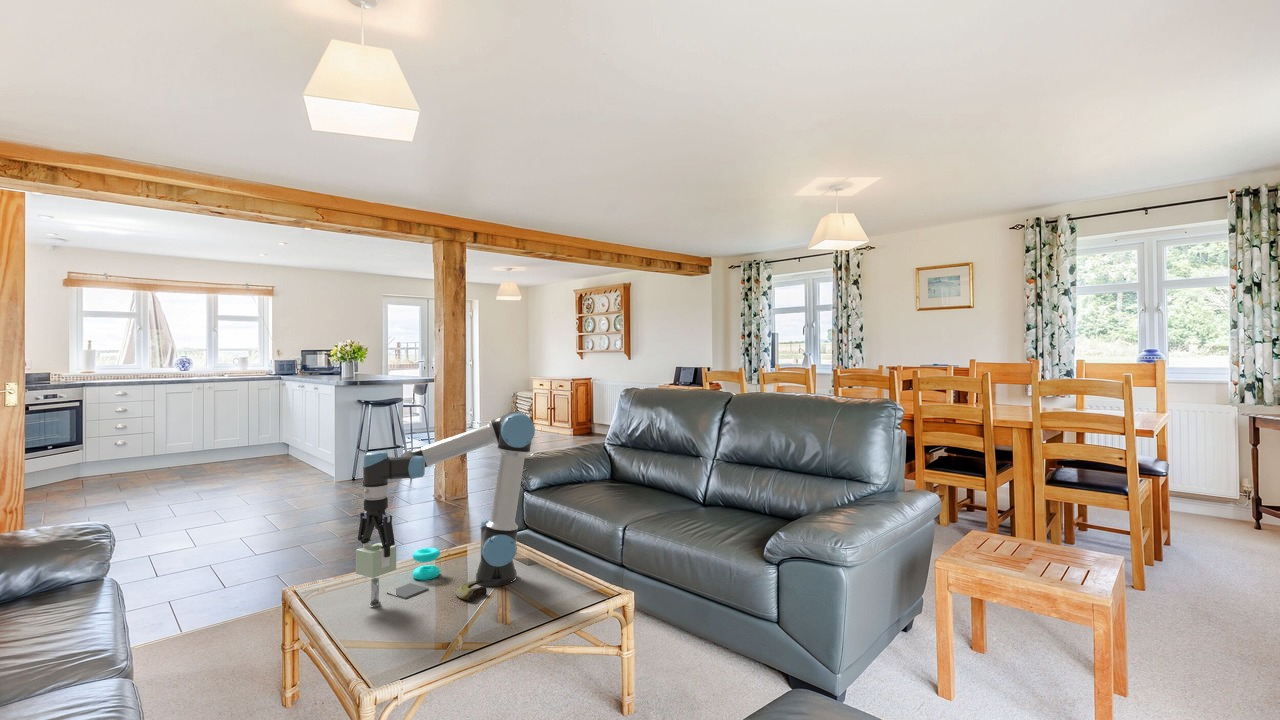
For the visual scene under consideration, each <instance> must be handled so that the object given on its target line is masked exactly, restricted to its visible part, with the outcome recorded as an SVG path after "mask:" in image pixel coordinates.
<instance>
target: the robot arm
mask: <svg viewBox="0 0 1280 720" xmlns="http://www.w3.org/2000/svg"><path fill="white" fill-rule="evenodd" d="M535 429H536V426H535V425H534V422H533V420H532V418H530V417H529V416H528V415H527V414H524V413H523V412H520V411H510V412H508V413H506V414H503V415H502V416H499V417H497V418H494V419H492V420H489V422H488V423H487V424H485V425H483V426H479V427H477V428H473V429H470V430H468V431H464V432H462V433H459V434H456V435H453V436H450V437H447V438H444V439H441V440H438V441H435V442H433V443H431V444H430V443H429V444H428V445H423V446H422V447H419V448H416V449H412V450H410V449H409V450H406V451H404V452H403V453H402V454H401V455H400V456H394V457H393V456H389V454H388V452H387V451H377V450H376V451H370V452H367V453H366V454H364V456H363V465H362V469H363V471H362V472H363V498H364V499H363V510H364V512H360V513H359V515H360V517H359V518H360V519H359V528H358V534H357V540H358V542H360V543H361V544H362V545H361V546H362V547H361V548H363V547H366V546H370V545H372V539H371V537H372V535H373V533H374V529H376V530H377V532H378V536H379V539H380V543H382V546H383V547H381V568H384V567H387V566H390V547H391V546H396V542H395V536H394V530H393V529H394V527H393V523H392V522H393V516H392V515H391V514H390V515H387V513H386V510H387V509H388V507H389V497H388V495H389V484H388V480H403V479H405V480H407V479H412V480H413V479H418V478H423V477H424V476H425V472H426V468H427V467H430V466H434V465H436V464H439V463H442V462H444V461H447V460H450V459H453V458H455V457H456V458H457V457H459V456H462V455H465V454H467V453H470V452H472V451H473V452H474V451H476V450H478V449H481V448H484V447H488V446H490V445H493V444H495V445H497V449H498V451H499V452H500V459H499V463H498V464H499V465H498V470H497V471H498V472H497V478H496V484H495V489H494V490H495V491H494V497H493V503H492V510H491V516H490V518H487V519H483V520H481V522H480V562H479V565H478V569H477V572H476V575H475V581H476V582H477V583H476V584H477V585H479V586H481V587H483V586H484V587H500V586H505V584H506V585H509V584H511V583H510V582H511V581H513V580H514V579H515V578H516V576H517V570H516V568H515V564H514V559H515V557H516V554H517V551H518V547H517V539H518V538H517V537H518V530H519V525H518V524H517V523H516V516H517V509H518V503H519V497H520V491H521V484H522V477H523V472H524V464H525V458H526V456H527V455H528V454H529V453H530V452H531V448H532V447H531V446H532V441H533V439H534V437H535V434H536V433H535V432H536V430H535ZM516 579H517V578H516ZM508 583H509V584H508Z"/></svg>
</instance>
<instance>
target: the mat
mask: <svg viewBox="0 0 1280 720" xmlns="http://www.w3.org/2000/svg"><path fill="white" fill-rule="evenodd" d="M395 589H396V595H397V596H399V597H398V598H401V599H403V600H406V599H409V598H411V597H414V596H417V595H419V594H421V593H424V592H426V591H429V590H430V589H429V587H426V586H423V585H419V584H415V583H412V582H411V583H410V582H409V583H407V584H405V585H401V586H399V587H396V588H395ZM397 596H396V597H397Z"/></svg>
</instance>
